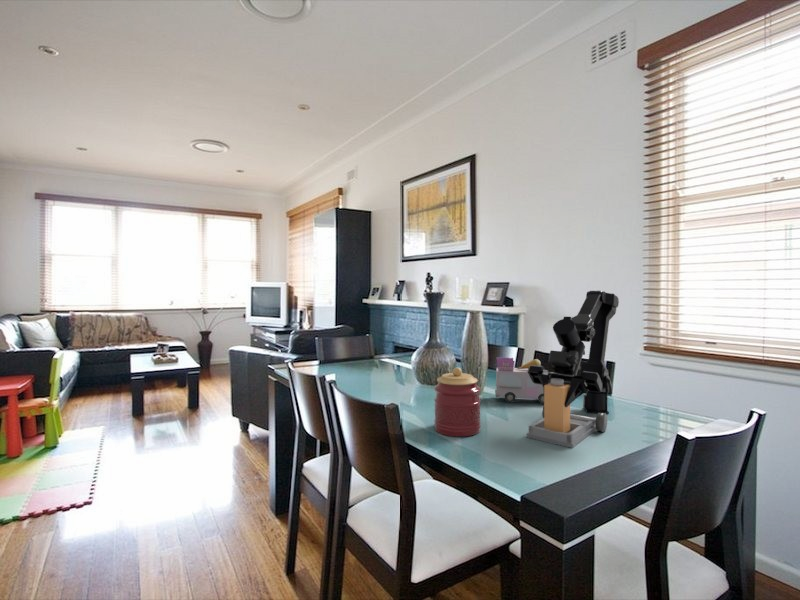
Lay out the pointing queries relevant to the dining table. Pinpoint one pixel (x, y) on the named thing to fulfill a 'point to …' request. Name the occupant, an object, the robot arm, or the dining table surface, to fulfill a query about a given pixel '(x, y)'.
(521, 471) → the dining table surface
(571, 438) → the chassis
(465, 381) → the canister
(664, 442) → the dining table surface
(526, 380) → the toy vehicle
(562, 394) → the block with grey dome
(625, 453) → the dining table surface
